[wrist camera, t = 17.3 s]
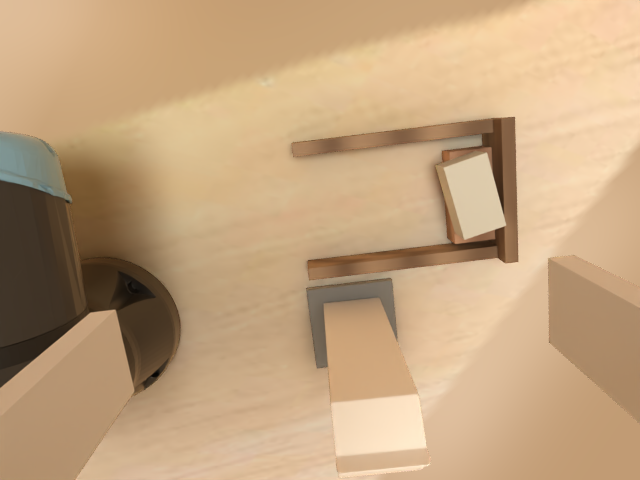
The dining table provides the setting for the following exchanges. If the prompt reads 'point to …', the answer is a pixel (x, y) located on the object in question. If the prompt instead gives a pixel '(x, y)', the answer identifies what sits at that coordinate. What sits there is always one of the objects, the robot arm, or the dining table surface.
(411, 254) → the rack
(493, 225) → the offcut top
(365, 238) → the dining table surface
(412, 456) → the milk
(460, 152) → the offcut low
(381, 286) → the slate pad
